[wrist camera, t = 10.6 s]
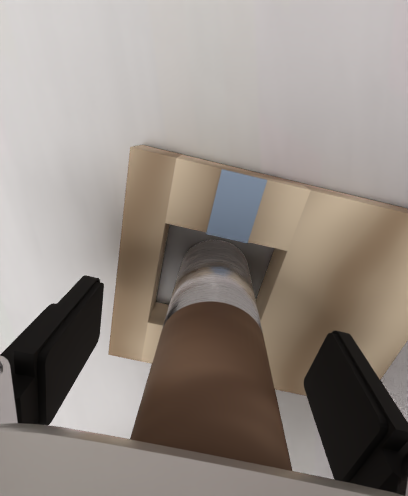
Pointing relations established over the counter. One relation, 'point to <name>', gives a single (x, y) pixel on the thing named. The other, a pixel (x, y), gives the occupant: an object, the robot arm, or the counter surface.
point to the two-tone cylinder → (213, 366)
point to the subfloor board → (281, 264)
